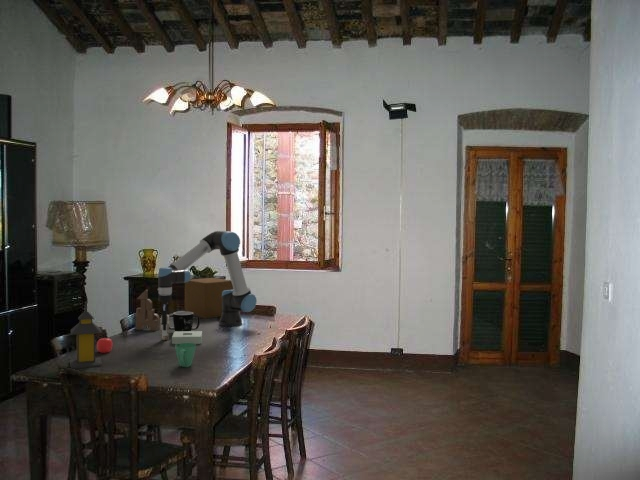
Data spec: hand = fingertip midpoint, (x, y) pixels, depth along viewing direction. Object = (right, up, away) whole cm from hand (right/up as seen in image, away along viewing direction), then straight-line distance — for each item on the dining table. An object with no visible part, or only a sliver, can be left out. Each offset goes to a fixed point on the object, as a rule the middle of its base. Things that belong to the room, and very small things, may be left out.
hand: (165, 334), depth 347 cm
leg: (0, -3, 0) cm, 3 cm away
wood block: (+9, 0, +89) cm, 89 cm away
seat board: (+13, -3, -2) cm, 14 cm away
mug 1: (+5, -2, +22) cm, 23 cm away
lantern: (-23, -5, -57) cm, 62 cm away
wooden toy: (-19, -1, +30) cm, 36 cm away
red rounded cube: (-23, -4, -32) cm, 40 cm away
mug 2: (+25, -6, -60) cm, 65 cm away
